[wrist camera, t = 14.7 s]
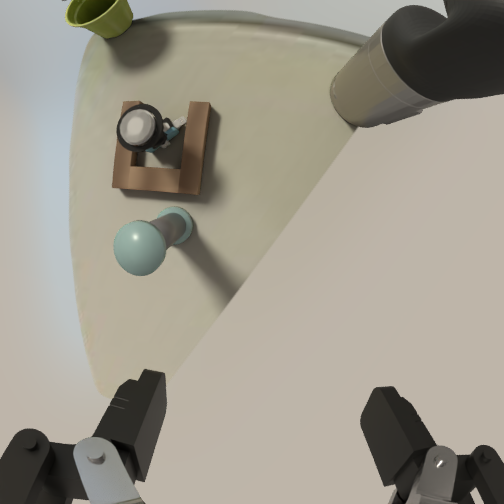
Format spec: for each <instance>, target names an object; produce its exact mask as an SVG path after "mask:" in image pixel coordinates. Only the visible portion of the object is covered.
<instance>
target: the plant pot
mask: <svg viewBox="0 0 504 504" xmlns="http://www.w3.org/2000/svg"><path fill="white" fill-rule="evenodd" d="M132 19H133V13H132V11H131V9H130V7H129V4H128V2H127V0H72V1H71V2H70V4H69V6H68V8H67V10H66V14H65V20H66V22H67V23H68V24H69V25H70V26H73V27H82V28H86V29H88V30H90V31H92V32H94V33H96V34H98V35H100V36H101V37H103V38H111V37H117V36H119V35H120V34H122V33H123V32H125V31H126V30H127V29H128V28H129V26H130V25H131V23H132Z"/></svg>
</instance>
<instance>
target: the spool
mask: <svg viewBox="0 0 504 504" xmlns="http://www.w3.org/2000/svg"><path fill="white" fill-rule="evenodd" d="M192 229H193V222H192V218H191V216H190V215H189V213H188V212H187V211H186V210H184V209H183V208H180V207H169V208H167V209H165V210H163V211H162V212H161V213H160V214H159V215H158V217H157V219H155V220H153V221H151V222H147V221H142V220H138V221H133V222H131V223H128V224H126V225H124V226H123V227H122V228H121V229H120V230H119V231H118V233H117V234H116V236H115V239H114V254H115V257H116V259H117V261H118V263H119V264H120V266H121V267H122V268H123V269H124V270H125V271H127V272H128V273H130V274H133V275H136V276H145V275H148V274H151V273H153V272H154V271H155V270H156V269H157V268H158V267H159V266H160V265H161V264H162V262H163V261H164V258H165V255H166V250H167V249H168V248H169V247H170V246H171V245H175V244H180V243H182V242H184V241H185V240H186V239H187V238H188V237H189V236H190V234H191V232H192Z"/></svg>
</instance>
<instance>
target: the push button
mask: <svg viewBox="0 0 504 504" xmlns="http://www.w3.org/2000/svg"><path fill="white" fill-rule="evenodd" d="M149 112H151V113H153V114H154V116H155V117H153V116H152V114H151V113H149ZM180 119H181V120H180ZM181 121H182V122H181ZM183 122H184V123H183ZM186 122H187V120H186V119H185V118H184V117H183V116H182V117H180V118H179V119H177V120H174V121H173V122H171V120H170V119H169V118H165V119H164V120H163V119H162V116H161V114H160V113H159V111H158V110H157V109H156V108H154V107H153V106H151V105H148V104H138V105H135V106H132V107H130V108H129V109H128V110H126V111H125V112H124V113H123V115H122V116H121V118H120V119H119V122H118V125H117V138H118V141H119V143H120V144H121V145H122V146H123V147H124V148H125V149H127V150H129V151H133V152H142V151H145V150H146V151H147V152H150V153H152V152H154V151H155V150H156V149H158V148H159V147H160V146H161V147H162V148H166V147H167V146H169V145H170V144H171V143H169V142H168V141H169V140H170V139H171V138H173V137H174V136H176V135H177V134H178V133H179V131H178V129H179V128H181V126H182V125H183V124H185V123H186ZM134 145H142V146H134ZM166 145H167V146H166Z"/></svg>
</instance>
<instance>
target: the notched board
mask: <svg viewBox="0 0 504 504" xmlns="http://www.w3.org/2000/svg"><path fill="white" fill-rule="evenodd" d="M138 104H143V103H142V102H140V101H126V102H123V106H122V112H121V116H122V115H123V113H124V112H125V111H126V110H128V109H129V108H130V107H132V106H135V105H138ZM210 112H211V104H210V103H209V102H192V101H190V105H189V111H188V117H187V124H186V131H185V138H184V145H183V153H182V160H181V169H168V168H153V167H136V160H137V152H133V151H129V150H127V149H125V148H124V147H123V146H122V145H121V144H120V143H119V141H118V138H117V144H116V152H115V161H114V171H113V182H112V188H122V189H137V190H150V191H162V192H174V193H184V194H195V195H198V194H200V187H201V178H202V170H203V162H204V154H205V147H206V139H207V132H208V125H209V118H210ZM120 118H121V117H120ZM134 146H138V145H134Z"/></svg>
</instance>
